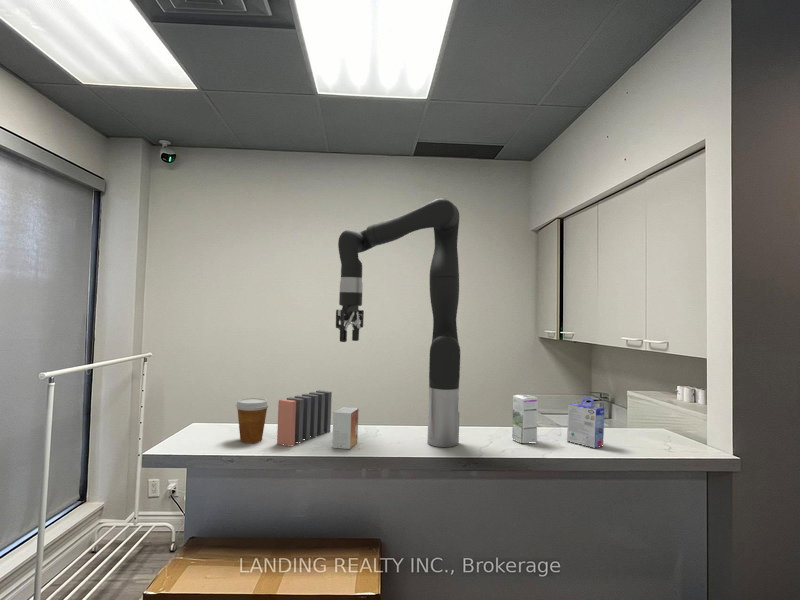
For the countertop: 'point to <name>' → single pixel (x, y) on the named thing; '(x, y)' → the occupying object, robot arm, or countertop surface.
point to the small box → (345, 428)
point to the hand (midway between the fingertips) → (349, 341)
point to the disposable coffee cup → (251, 418)
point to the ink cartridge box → (585, 423)
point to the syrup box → (525, 418)
